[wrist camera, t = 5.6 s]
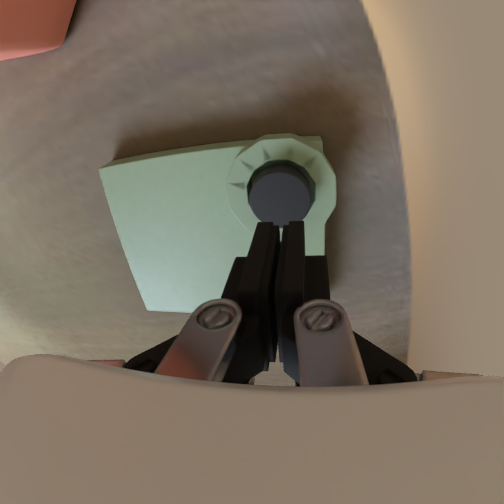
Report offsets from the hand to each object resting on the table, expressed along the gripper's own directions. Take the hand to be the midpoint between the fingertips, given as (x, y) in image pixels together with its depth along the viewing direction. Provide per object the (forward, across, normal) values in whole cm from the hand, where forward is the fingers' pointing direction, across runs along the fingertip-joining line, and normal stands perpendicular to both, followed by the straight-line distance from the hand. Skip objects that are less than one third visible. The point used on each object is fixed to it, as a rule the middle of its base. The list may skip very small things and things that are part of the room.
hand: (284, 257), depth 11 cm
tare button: (+6, +1, 0) cm, 6 cm away
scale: (+10, +6, +4) cm, 12 cm away
